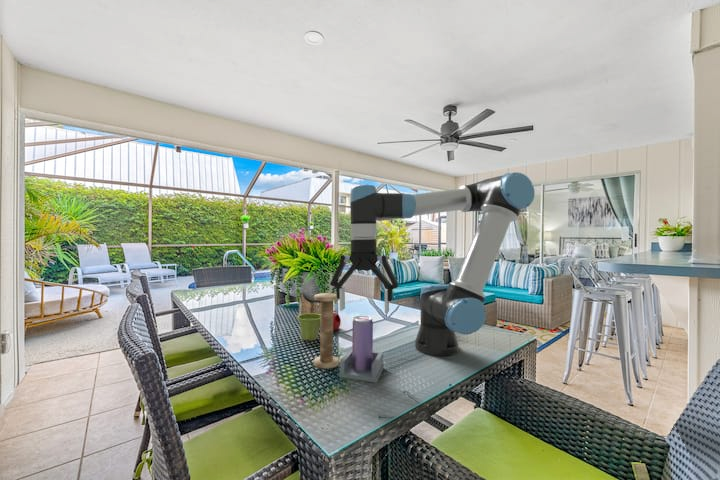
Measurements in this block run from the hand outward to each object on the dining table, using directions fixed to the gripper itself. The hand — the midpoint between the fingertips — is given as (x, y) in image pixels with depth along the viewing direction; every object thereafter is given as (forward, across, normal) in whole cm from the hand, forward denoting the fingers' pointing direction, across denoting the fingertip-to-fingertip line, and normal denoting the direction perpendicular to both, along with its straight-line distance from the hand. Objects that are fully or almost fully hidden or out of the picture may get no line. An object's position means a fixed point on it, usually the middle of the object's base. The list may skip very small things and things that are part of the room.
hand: (364, 310), depth 91 cm
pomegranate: (+18, +25, -36) cm, 47 cm away
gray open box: (+18, +1, 0) cm, 18 cm away
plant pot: (+18, +28, -23) cm, 41 cm away
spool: (+18, +13, -3) cm, 23 cm away
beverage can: (+17, +1, 0) cm, 17 cm away
